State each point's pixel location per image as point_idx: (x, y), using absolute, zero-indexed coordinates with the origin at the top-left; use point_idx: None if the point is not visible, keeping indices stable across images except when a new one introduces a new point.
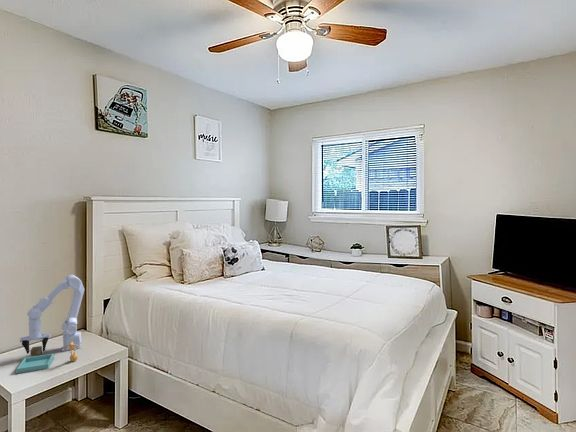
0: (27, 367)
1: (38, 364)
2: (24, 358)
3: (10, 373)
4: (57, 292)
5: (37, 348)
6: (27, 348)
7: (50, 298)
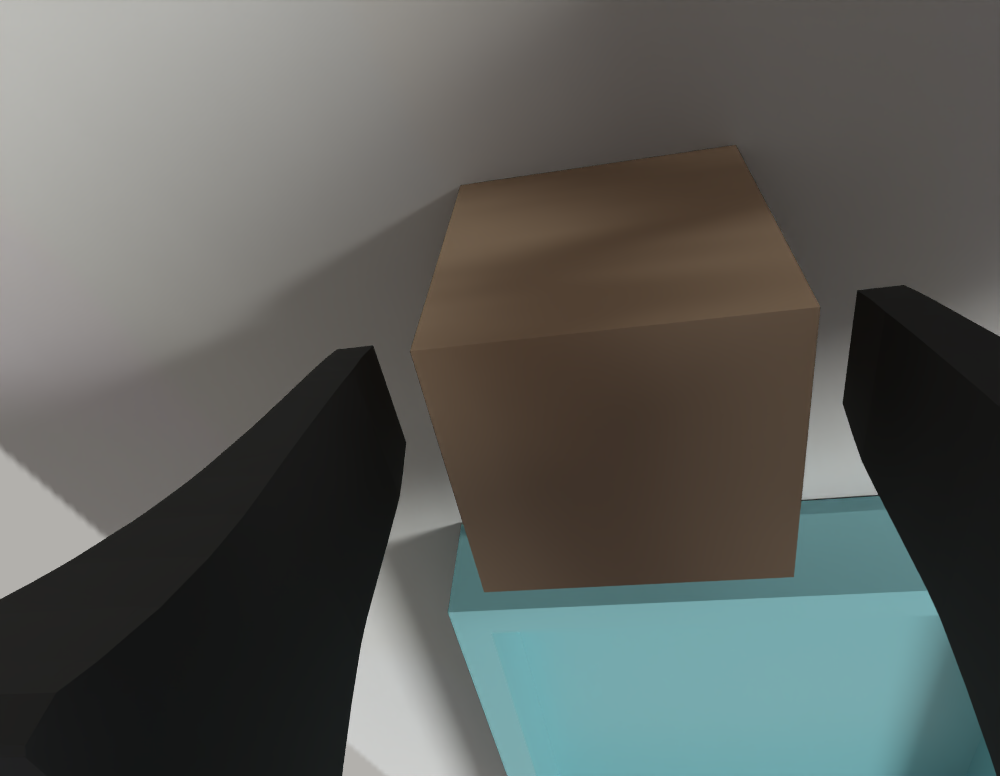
0: None
1: (798, 695)
2: (463, 638)
3: (447, 767)
4: None
5: (691, 515)
6: (359, 621)
7: None
